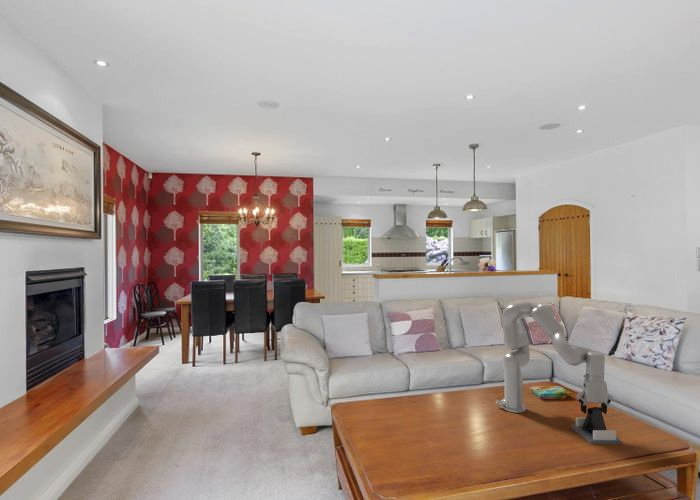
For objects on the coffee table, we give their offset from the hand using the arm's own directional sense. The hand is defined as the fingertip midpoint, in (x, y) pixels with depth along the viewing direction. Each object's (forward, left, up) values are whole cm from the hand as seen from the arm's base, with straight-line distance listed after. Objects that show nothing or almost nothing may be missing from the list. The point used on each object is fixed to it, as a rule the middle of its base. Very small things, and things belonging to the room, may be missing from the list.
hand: (593, 412), depth 181 cm
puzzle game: (+5, +49, -12) cm, 50 cm away
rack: (0, 0, -11) cm, 11 cm away
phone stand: (0, 0, -10) cm, 10 cm away
